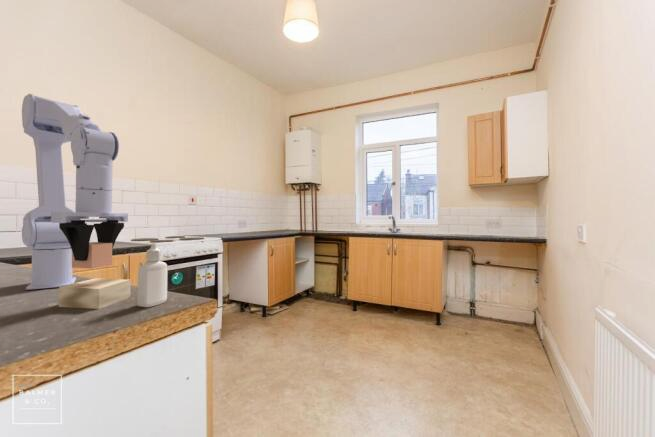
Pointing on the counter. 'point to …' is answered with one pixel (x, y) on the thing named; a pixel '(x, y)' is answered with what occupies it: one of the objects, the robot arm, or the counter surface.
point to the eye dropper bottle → (152, 279)
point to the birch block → (94, 293)
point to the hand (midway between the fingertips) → (93, 258)
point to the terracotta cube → (95, 256)
